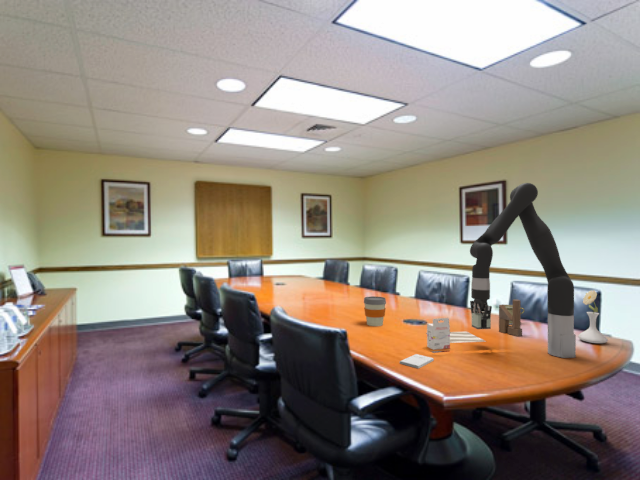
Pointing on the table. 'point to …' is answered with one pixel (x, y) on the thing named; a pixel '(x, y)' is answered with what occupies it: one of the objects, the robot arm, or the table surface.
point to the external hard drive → (416, 361)
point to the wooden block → (506, 316)
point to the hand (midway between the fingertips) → (480, 326)
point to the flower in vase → (592, 322)
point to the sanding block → (479, 321)
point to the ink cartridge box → (438, 335)
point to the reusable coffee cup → (374, 310)
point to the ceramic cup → (511, 311)
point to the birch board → (464, 337)
